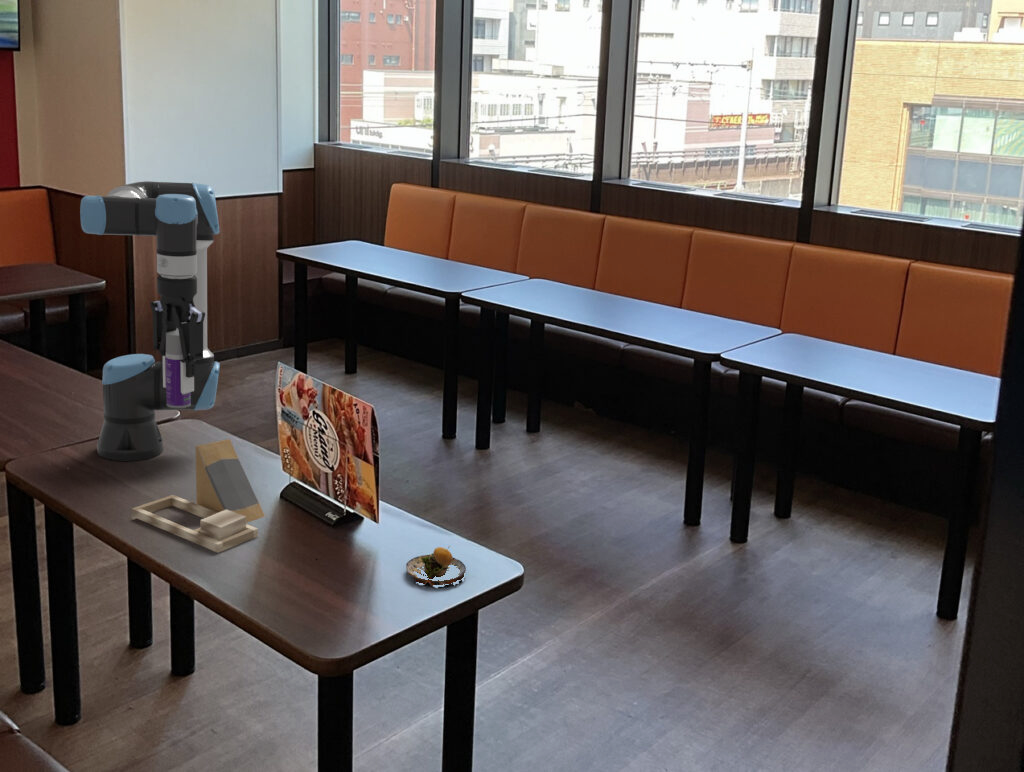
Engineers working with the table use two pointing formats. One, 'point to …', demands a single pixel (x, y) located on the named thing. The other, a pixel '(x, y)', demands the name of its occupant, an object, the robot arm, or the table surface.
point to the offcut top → (223, 523)
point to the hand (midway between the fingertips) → (178, 388)
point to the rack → (194, 536)
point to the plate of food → (435, 566)
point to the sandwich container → (224, 481)
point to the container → (175, 372)
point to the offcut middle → (224, 535)
